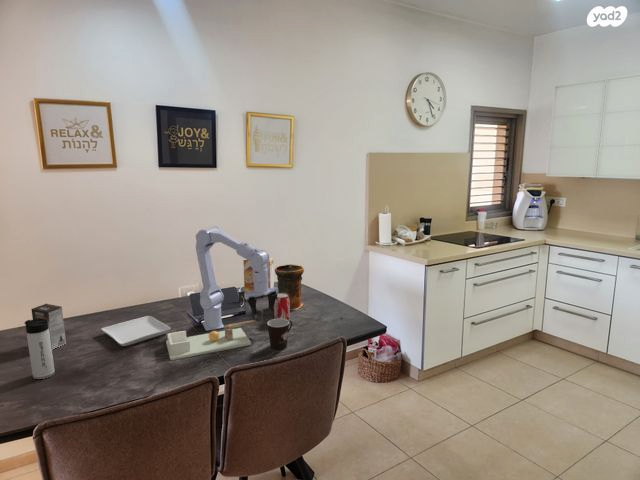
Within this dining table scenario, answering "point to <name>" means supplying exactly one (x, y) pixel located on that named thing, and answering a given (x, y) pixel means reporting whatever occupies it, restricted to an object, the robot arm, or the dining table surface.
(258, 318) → the striker rod
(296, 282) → the vessel
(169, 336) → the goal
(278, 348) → the coffee mug
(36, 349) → the travel mug
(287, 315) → the soda can
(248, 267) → the coffeecake box
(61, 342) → the coffee box
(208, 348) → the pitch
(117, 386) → the dining table surface
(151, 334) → the salad plate
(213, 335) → the ball
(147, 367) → the dining table surface
